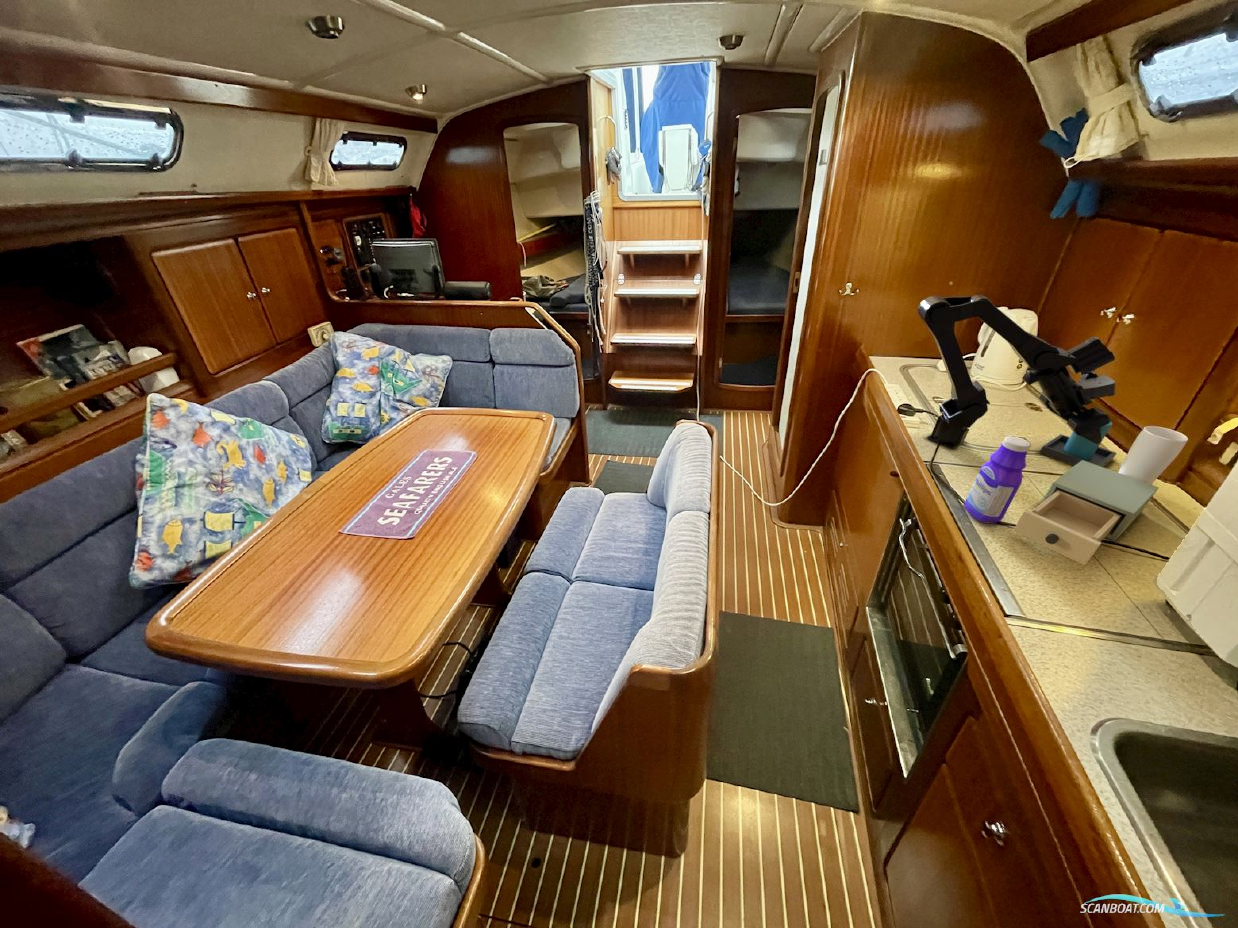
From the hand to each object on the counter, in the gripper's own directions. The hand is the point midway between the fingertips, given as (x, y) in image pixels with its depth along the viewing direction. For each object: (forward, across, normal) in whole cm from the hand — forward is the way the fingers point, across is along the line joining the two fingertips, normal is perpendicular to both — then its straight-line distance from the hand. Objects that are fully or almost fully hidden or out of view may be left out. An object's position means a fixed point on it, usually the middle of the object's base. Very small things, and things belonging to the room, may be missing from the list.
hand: (1088, 433), depth 116 cm
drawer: (-9, -37, +17) cm, 42 cm away
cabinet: (-1, -25, +10) cm, 27 cm away
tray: (+5, 0, +4) cm, 6 cm away
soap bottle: (+4, 0, +4) cm, 6 cm away
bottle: (-17, -33, +27) cm, 45 cm away
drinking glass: (+6, -15, +3) cm, 17 cm away
